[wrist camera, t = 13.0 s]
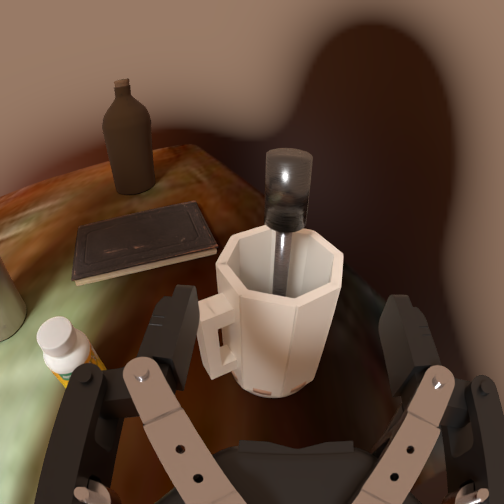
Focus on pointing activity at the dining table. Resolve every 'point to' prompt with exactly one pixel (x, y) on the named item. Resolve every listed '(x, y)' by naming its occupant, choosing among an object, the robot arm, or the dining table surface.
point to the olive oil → (129, 142)
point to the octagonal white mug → (270, 312)
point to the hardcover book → (141, 242)
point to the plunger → (286, 205)
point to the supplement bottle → (65, 348)
